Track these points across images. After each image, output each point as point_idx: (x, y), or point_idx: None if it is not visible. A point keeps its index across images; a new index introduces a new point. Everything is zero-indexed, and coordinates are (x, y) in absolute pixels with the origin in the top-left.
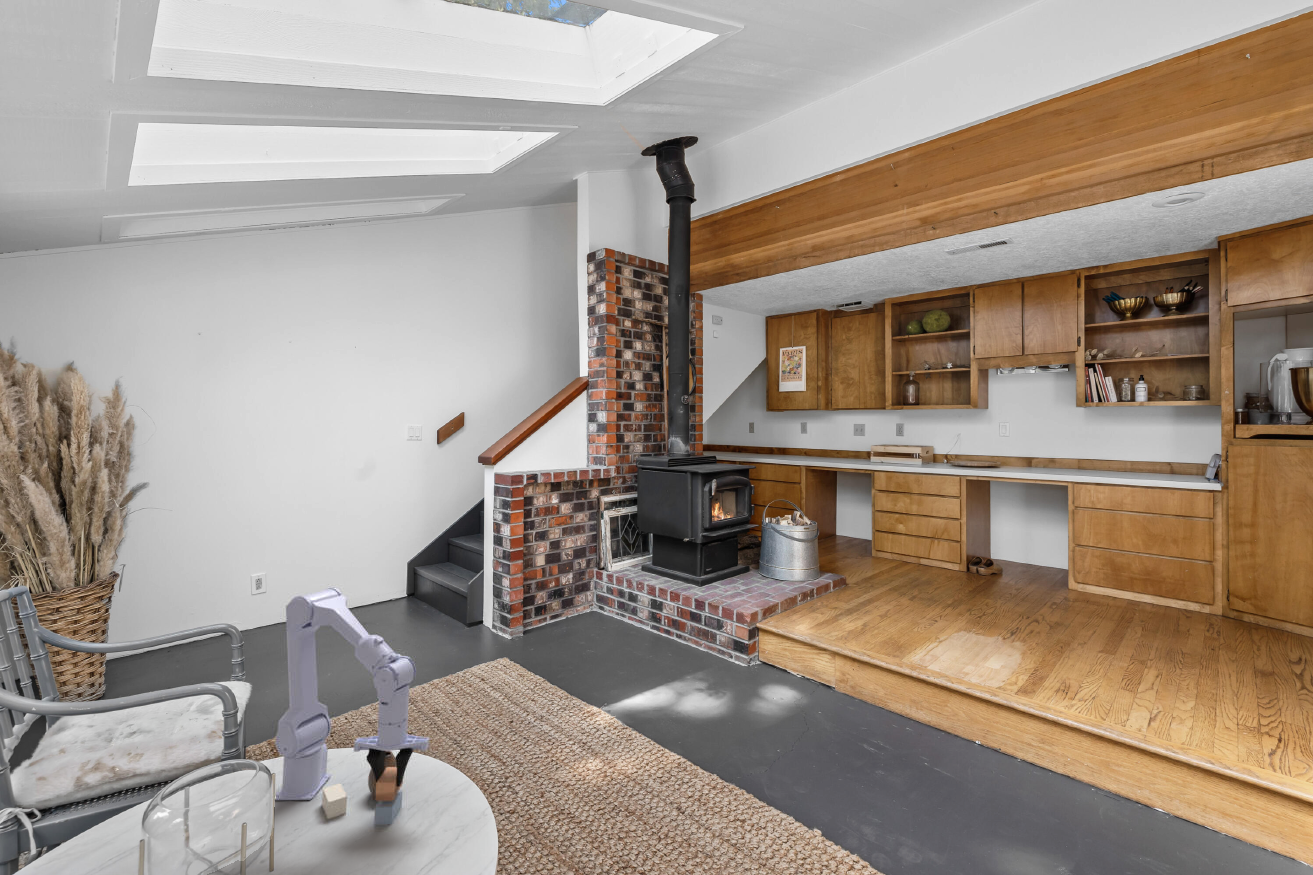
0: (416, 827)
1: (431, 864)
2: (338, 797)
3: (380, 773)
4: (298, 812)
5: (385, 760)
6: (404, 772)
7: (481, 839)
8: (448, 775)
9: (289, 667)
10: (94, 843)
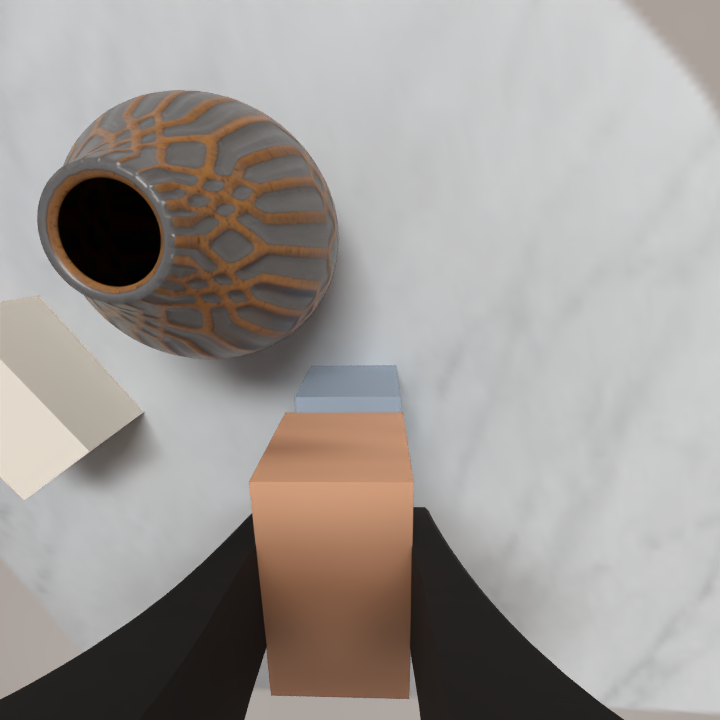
0: (515, 520)
1: (617, 704)
2: (48, 459)
3: (253, 644)
4: None
5: (162, 314)
6: (446, 542)
7: None
8: (615, 4)
9: None
10: None
